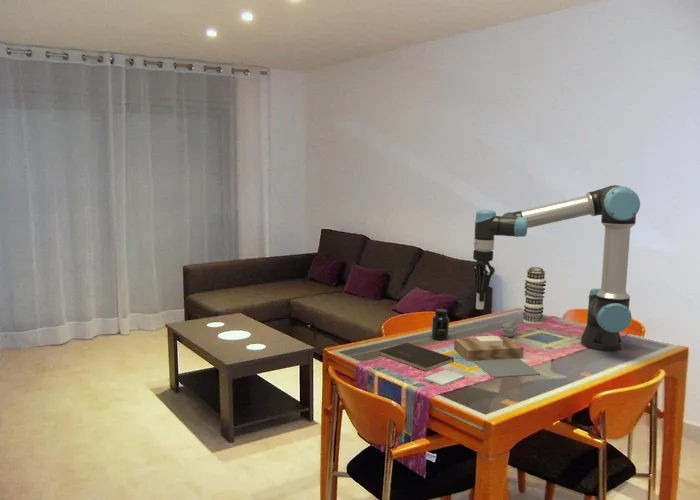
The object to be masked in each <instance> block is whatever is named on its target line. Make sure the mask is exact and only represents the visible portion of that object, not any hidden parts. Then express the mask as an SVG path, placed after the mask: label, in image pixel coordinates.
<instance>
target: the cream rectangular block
mask: <svg viewBox="0 0 700 500" xmlns="http://www.w3.org/2000/svg"><path fill="white" fill-rule="evenodd" d="M499 337H500V336H497V335H480V336H474V342H475V343H477V344H478V345H479V346H480V347H481V346H501V345H503V340H502V339H500V338H499Z"/></svg>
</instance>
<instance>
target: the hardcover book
mask: <svg viewBox="0 0 700 500" xmlns="http://www.w3.org/2000/svg"><path fill="white" fill-rule="evenodd" d="M379 352H380V356H382V357H385V358H388V359H390V360H393V361H396V362H398V363H402V364H404V365H408V366H410V365H411V366H410V367H412V366H413V367H412V368H415V367H416V369H418V368H419V370H421V369H422V370H421V371H423V370H425V371H424V372H428V371H431V370H434V369H436V368H439V367H442V366H445V365H448V364H450V363H451V364H452V363H454V362H455V358H454V357H453V356H450V355H446V354H443V353H440V352H438V351H437V352H436V351H433V350H431V349H428V348H425V347H422V346H419V345H416V344H413V343H410V342H403V343H400V344H397V345H394V346H390V347H387V348H384V349H381V350H379ZM433 368H434V369H433ZM430 369H431V370H430ZM427 370H428V371H427Z"/></svg>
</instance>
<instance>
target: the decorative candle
mask: <svg viewBox="0 0 700 500" xmlns="http://www.w3.org/2000/svg"><path fill="white" fill-rule="evenodd" d="M526 273H527V274H526V275H527V276H526V279H525V283H524V285H525V286H524V289H525V290H524V297H525V302H524V305H523V307H524V309H523V311H524V312H523V316H522V317H523V320H522V321H523V322H524V323H525V324H530V325H539V324H540V325H541V324H543V320H544V319H543V317H544V315H543V313H544V311H543V310H544V298H545V296H544V295H545V294H546V292H545V291H546V288H545V286H547V285H546V283H547V280H546V279H545V275H546V271H545V270H544V269H543V268H542V267H538V266H530V267H529V268H528V269H527V270H526Z"/></svg>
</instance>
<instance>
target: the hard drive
mask: <svg viewBox="0 0 700 500" xmlns="http://www.w3.org/2000/svg"><path fill="white" fill-rule="evenodd" d="M463 378H466V377H465V375H464V374H461V373H458V372H455V371H452V370H449V369H444V370H441V371H439V372H436V373H433V374H430V375H427V376H426V377H423V378H422V381H423V380H425V381H428V382H431V383H434V384H437V385H439V386H444V385H447V384H449V385H451V384H450V383H452V382H454V381H457V380H460V379H462V380H464V379H463ZM425 381H424V382H425ZM460 381H461V380H460ZM428 382H427V383H428ZM457 382H458V381H457ZM431 383H430V384H431ZM454 383H455V382H454ZM452 384H453V383H452ZM439 386H438V387H439ZM447 386H448V385H447ZM444 387H445V386H444Z"/></svg>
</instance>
